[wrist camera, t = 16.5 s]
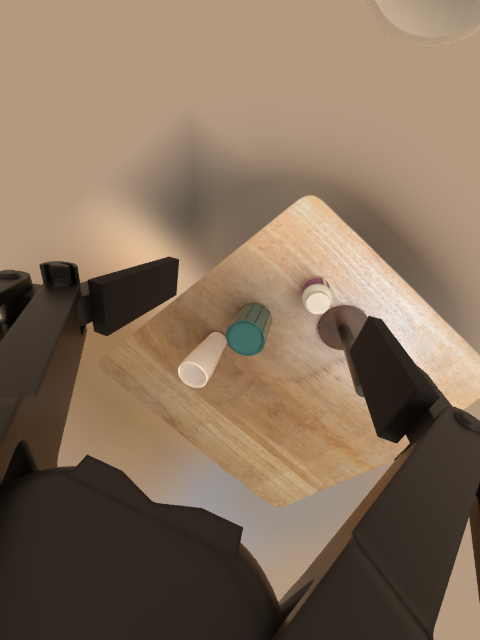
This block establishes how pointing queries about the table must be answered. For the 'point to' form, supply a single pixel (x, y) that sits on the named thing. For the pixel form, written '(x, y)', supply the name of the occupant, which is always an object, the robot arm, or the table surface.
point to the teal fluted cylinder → (249, 329)
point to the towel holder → (343, 333)
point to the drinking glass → (202, 360)
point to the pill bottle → (316, 295)
